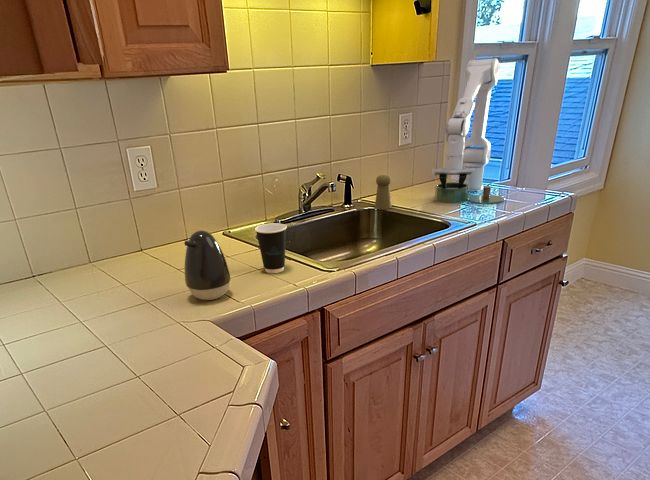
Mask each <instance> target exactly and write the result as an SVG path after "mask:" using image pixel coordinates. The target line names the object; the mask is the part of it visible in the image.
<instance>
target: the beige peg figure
mask: <svg viewBox="0 0 650 480" xmlns="http://www.w3.org/2000/svg"><path fill="white" fill-rule="evenodd" d="M375 182H376V184H377V187H376V193H375V194H376V195H375V202H374V209H377V210H389V209H391V208H392V207H393V205H392V197H391V196H392V195H391V187H390V185H391V183H392V177H391V176H390V175H389V174H381V175H377V177H376V179H375Z"/></svg>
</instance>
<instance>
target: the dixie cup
mask: <svg viewBox="0 0 650 480" xmlns="http://www.w3.org/2000/svg"><path fill="white" fill-rule="evenodd" d="M287 228H288V227H287V225H286V224H285V223H277V222H271V223H263V224H260V225H257V226H255V228H254V232H255V233H256V237H257V242H258V246H259V251H260V256H261V260H262V264H263V268H264V269H265V272H266V273H268V274H278V273H281V272H284V270H285V266H286V238H287V236H286V235H287V233H286V232H287Z"/></svg>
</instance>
